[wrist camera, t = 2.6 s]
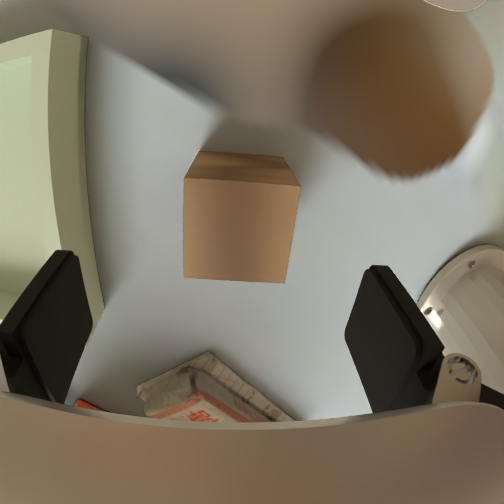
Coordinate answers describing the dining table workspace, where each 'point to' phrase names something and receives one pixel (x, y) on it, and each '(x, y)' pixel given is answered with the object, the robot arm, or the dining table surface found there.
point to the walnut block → (238, 217)
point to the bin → (43, 162)
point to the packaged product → (206, 395)
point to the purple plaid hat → (457, 4)
